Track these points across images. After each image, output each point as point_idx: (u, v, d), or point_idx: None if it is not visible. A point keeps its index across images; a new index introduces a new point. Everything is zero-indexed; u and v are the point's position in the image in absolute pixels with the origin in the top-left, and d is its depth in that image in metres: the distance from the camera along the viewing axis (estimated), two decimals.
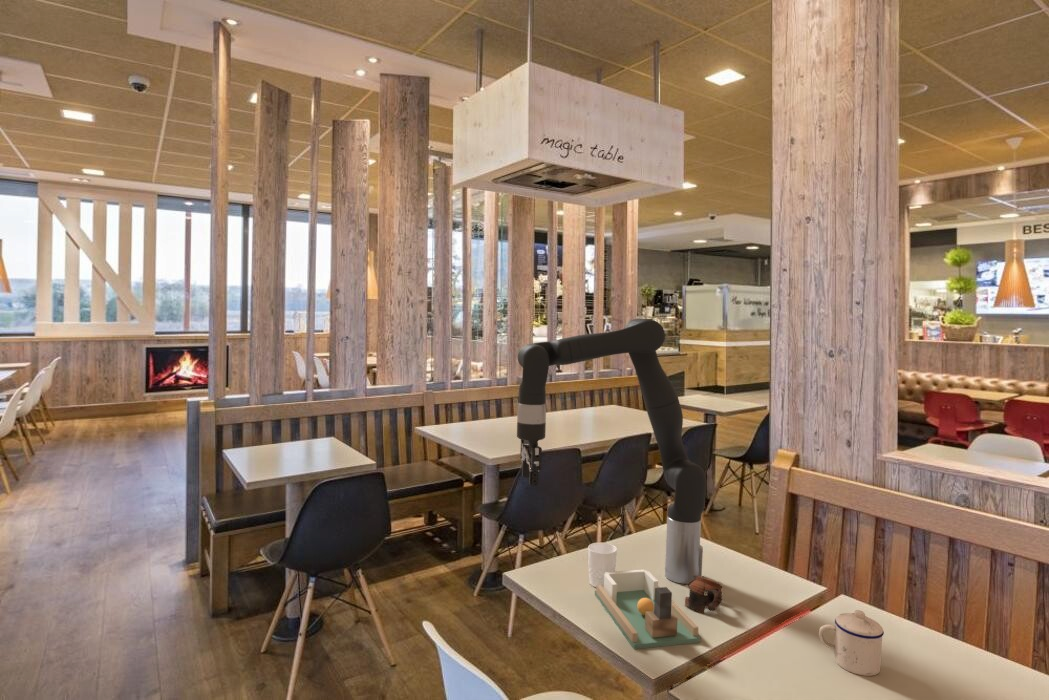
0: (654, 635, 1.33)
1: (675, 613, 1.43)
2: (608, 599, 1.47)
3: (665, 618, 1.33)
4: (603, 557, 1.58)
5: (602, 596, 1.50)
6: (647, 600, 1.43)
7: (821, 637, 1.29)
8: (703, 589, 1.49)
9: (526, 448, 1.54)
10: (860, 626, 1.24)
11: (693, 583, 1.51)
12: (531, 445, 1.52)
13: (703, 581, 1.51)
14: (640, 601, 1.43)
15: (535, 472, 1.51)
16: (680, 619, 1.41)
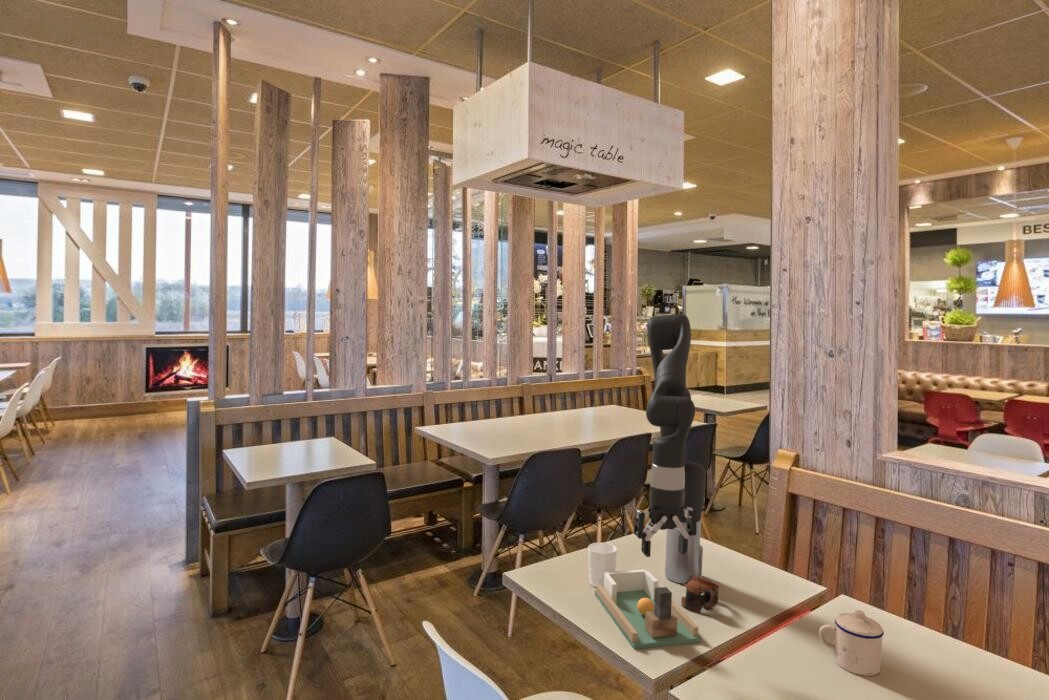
0: (654, 635, 1.33)
1: (675, 613, 1.43)
2: (608, 599, 1.47)
3: (665, 618, 1.33)
4: (603, 557, 1.58)
5: (602, 596, 1.50)
6: (647, 600, 1.43)
7: (821, 637, 1.29)
8: (700, 589, 1.49)
9: None
10: (860, 626, 1.24)
11: (689, 583, 1.51)
12: (683, 509, 1.34)
13: (700, 581, 1.51)
14: (640, 601, 1.43)
15: None
16: (680, 619, 1.41)
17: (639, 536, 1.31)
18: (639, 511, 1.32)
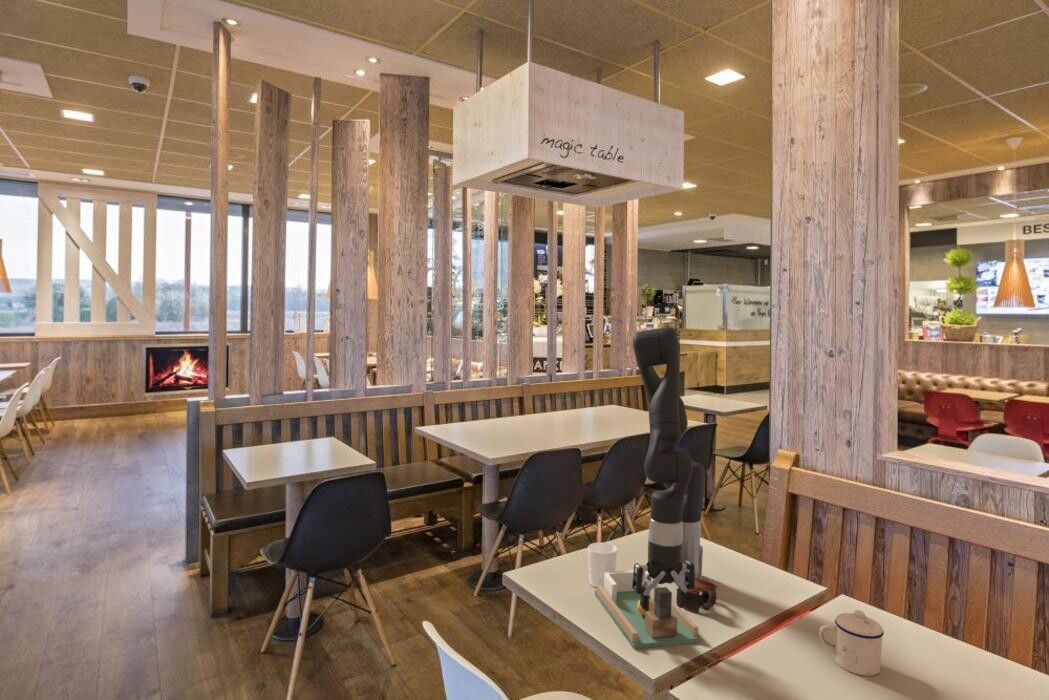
0: (654, 635, 1.33)
1: (675, 613, 1.43)
2: (608, 599, 1.47)
3: (665, 618, 1.33)
4: (603, 557, 1.58)
5: (602, 596, 1.50)
6: None
7: (821, 637, 1.29)
8: (698, 589, 1.49)
9: (674, 571, 1.33)
10: (860, 626, 1.24)
11: None
12: (681, 563, 1.34)
13: (698, 580, 1.51)
14: None
15: None
16: (680, 619, 1.41)
17: (637, 591, 1.32)
18: (637, 566, 1.33)
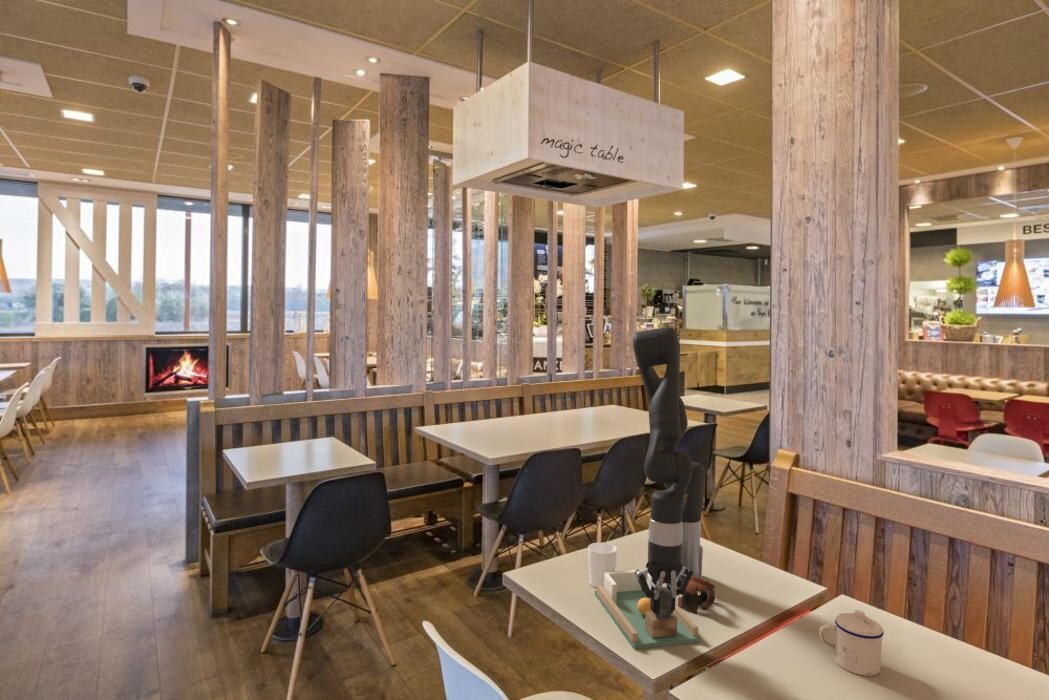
0: (654, 635, 1.33)
1: (675, 613, 1.43)
2: (608, 599, 1.47)
3: (665, 618, 1.33)
4: (603, 557, 1.58)
5: (602, 596, 1.50)
6: (647, 600, 1.43)
7: (821, 637, 1.29)
8: (696, 589, 1.49)
9: None
10: (860, 626, 1.24)
11: None
12: (682, 565, 1.34)
13: (696, 580, 1.51)
14: (640, 601, 1.43)
15: None
16: (680, 619, 1.41)
17: (648, 595, 1.32)
18: (637, 573, 1.33)
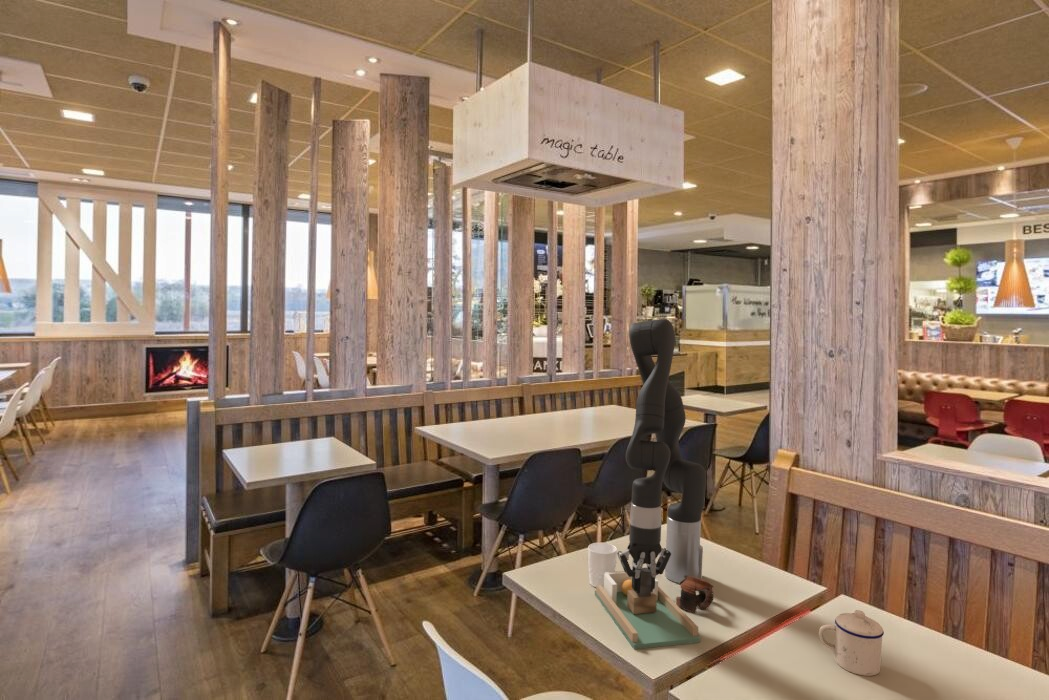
0: (635, 611, 1.44)
1: (675, 613, 1.43)
2: (608, 599, 1.47)
3: (645, 596, 1.44)
4: (603, 557, 1.58)
5: (602, 596, 1.50)
6: None
7: (821, 637, 1.29)
8: (695, 589, 1.49)
9: None
10: (860, 626, 1.24)
11: (684, 583, 1.51)
12: (661, 547, 1.45)
13: (694, 580, 1.51)
14: (626, 590, 1.52)
15: None
16: (680, 619, 1.41)
17: (629, 574, 1.43)
18: (620, 554, 1.43)
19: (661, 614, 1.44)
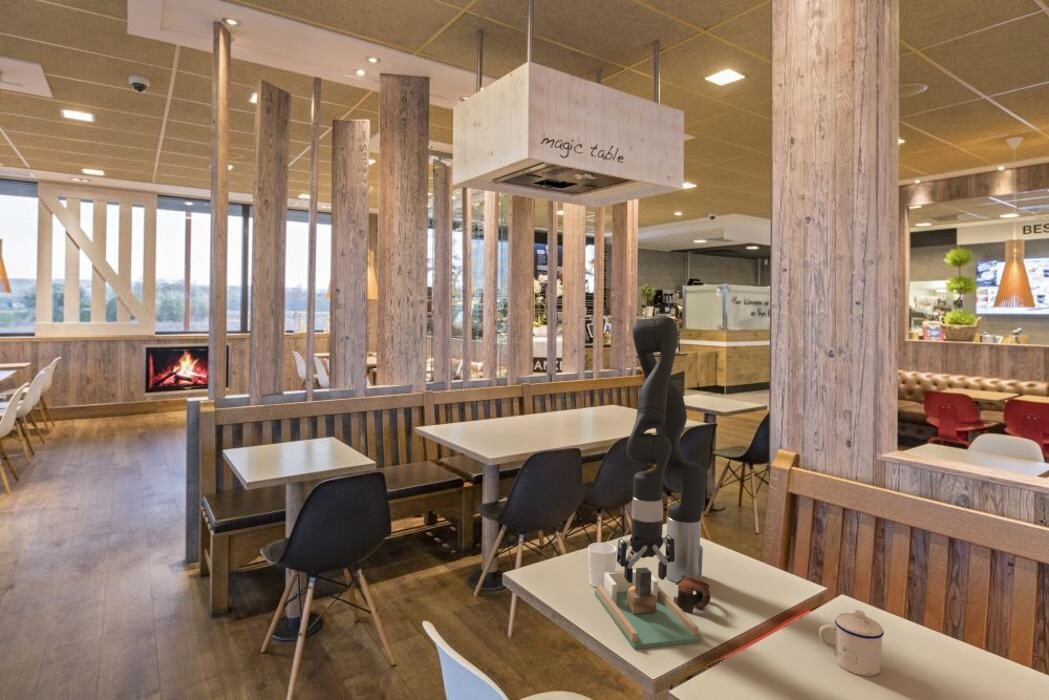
0: (635, 611, 1.44)
1: (675, 613, 1.43)
2: (608, 599, 1.47)
3: (645, 596, 1.44)
4: (603, 557, 1.58)
5: (602, 596, 1.50)
6: None
7: (821, 637, 1.29)
8: (692, 589, 1.49)
9: (656, 545, 1.44)
10: (860, 626, 1.24)
11: (681, 583, 1.51)
12: (662, 538, 1.45)
13: (691, 580, 1.51)
14: None
15: None
16: (680, 619, 1.41)
17: (622, 564, 1.42)
18: (621, 541, 1.43)
19: (661, 614, 1.44)
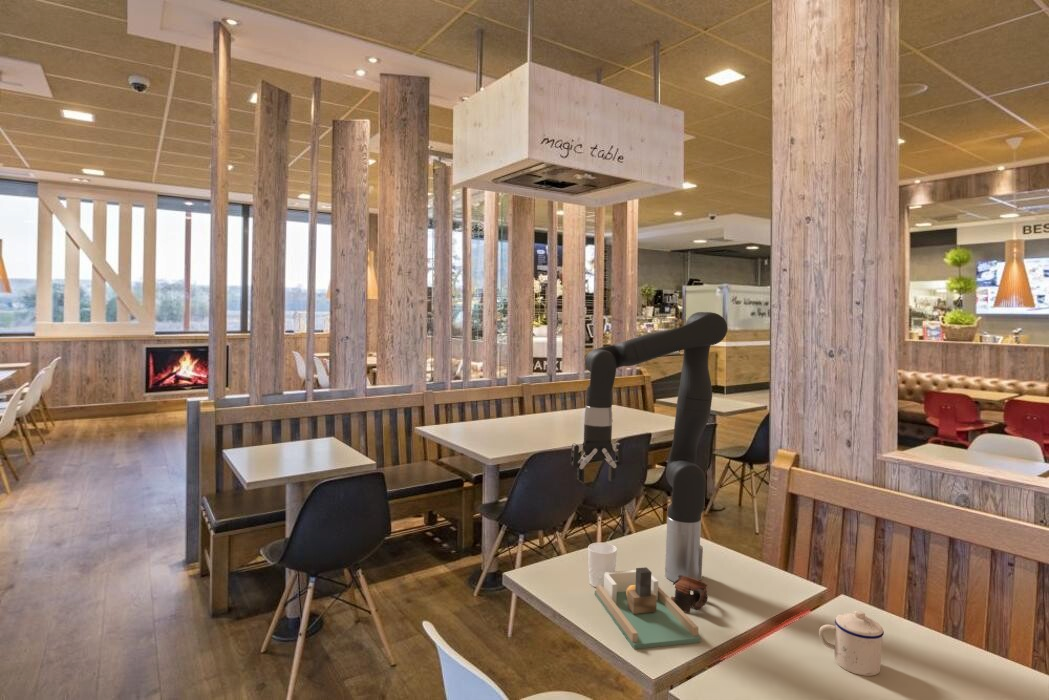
0: (635, 611, 1.44)
1: (675, 613, 1.43)
2: (608, 599, 1.47)
3: (645, 596, 1.44)
4: (603, 557, 1.58)
5: (602, 596, 1.50)
6: None
7: (821, 637, 1.29)
8: (689, 589, 1.49)
9: None
10: (860, 626, 1.24)
11: (678, 583, 1.51)
12: (611, 444, 1.62)
13: (689, 580, 1.51)
14: None
15: None
16: (680, 619, 1.41)
17: (574, 465, 1.59)
18: (574, 444, 1.60)
19: (661, 614, 1.44)
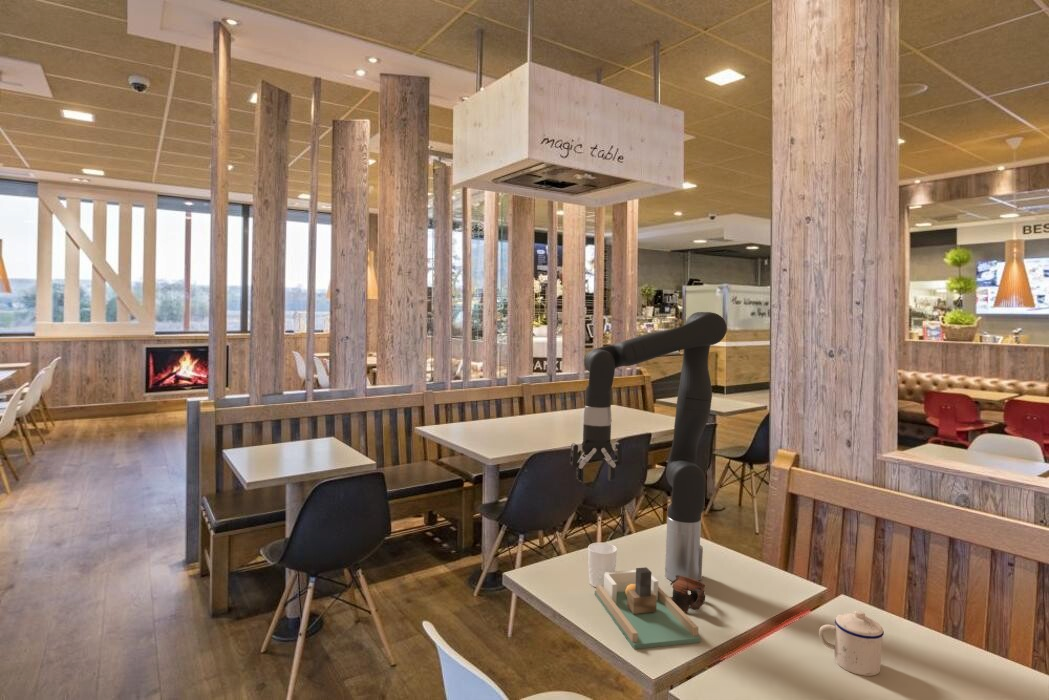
0: (635, 611, 1.44)
1: (675, 613, 1.43)
2: (608, 599, 1.47)
3: (645, 596, 1.44)
4: (603, 557, 1.58)
5: (602, 596, 1.50)
6: None
7: (821, 637, 1.29)
8: (686, 589, 1.49)
9: None
10: (860, 626, 1.24)
11: (676, 583, 1.51)
12: (610, 443, 1.62)
13: (686, 580, 1.51)
14: None
15: None
16: (680, 619, 1.41)
17: (573, 464, 1.60)
18: (573, 444, 1.60)
19: (661, 614, 1.44)
